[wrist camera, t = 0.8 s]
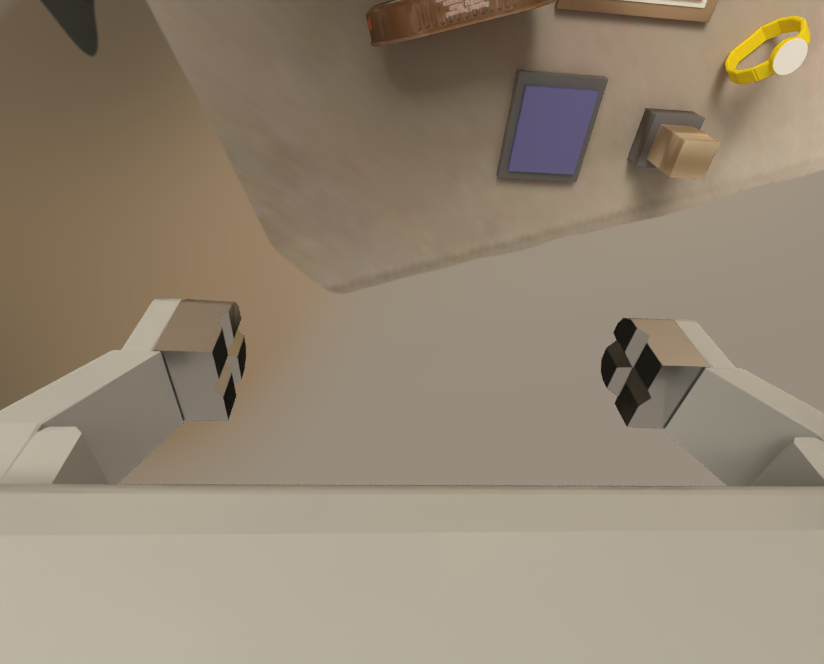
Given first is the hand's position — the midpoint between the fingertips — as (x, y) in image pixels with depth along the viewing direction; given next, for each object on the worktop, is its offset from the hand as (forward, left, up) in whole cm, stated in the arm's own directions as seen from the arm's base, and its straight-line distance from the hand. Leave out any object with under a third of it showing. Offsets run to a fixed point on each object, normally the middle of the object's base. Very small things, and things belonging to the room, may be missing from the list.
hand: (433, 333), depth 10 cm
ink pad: (+7, +16, -41) cm, 45 cm away
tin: (-3, +5, -42) cm, 42 cm away
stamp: (+7, +28, -41) cm, 51 cm away
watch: (-1, +33, -42) cm, 53 cm away
